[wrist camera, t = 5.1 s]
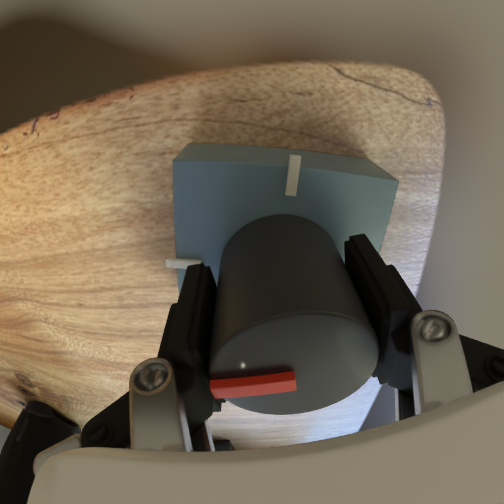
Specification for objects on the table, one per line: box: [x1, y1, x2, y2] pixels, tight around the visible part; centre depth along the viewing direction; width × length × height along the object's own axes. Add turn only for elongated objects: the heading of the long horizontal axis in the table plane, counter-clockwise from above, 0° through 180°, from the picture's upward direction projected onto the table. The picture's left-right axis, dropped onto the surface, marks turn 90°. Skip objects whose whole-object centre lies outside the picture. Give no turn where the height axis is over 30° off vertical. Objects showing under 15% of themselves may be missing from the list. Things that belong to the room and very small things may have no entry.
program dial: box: [208, 215, 380, 415], centre depth 9 cm, size 5×5×5 cm
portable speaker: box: [0, 401, 81, 504], centre depth 18 cm, size 9×9×20 cm
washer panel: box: [165, 143, 399, 295], centre depth 13 cm, size 9×9×3 cm
